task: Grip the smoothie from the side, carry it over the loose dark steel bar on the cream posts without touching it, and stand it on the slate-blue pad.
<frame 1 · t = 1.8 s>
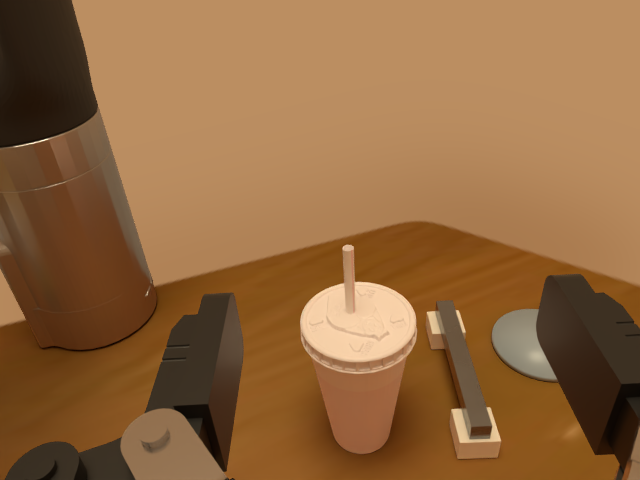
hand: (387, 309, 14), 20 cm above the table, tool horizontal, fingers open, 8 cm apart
steel bar: (459, 367, 36), point 2 cm above the table, touching hurdle stand
hurdle stand: (457, 383, 37), on the table
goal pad: (540, 344, 39), on the table
smoothie: (361, 430, 34), on the table
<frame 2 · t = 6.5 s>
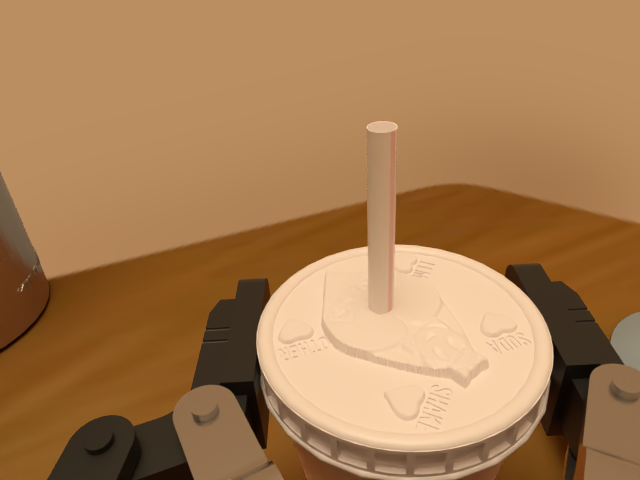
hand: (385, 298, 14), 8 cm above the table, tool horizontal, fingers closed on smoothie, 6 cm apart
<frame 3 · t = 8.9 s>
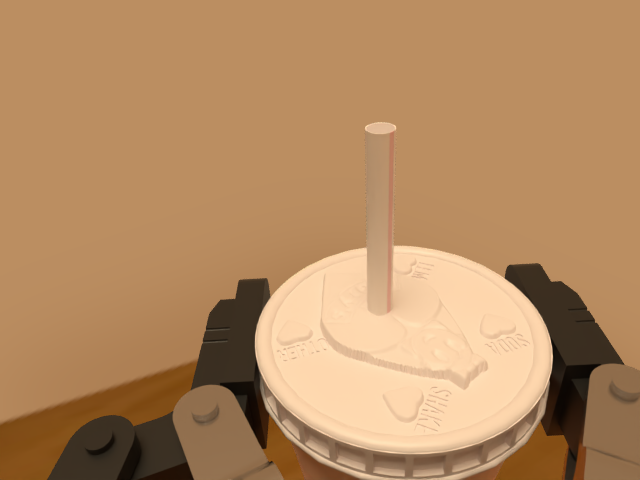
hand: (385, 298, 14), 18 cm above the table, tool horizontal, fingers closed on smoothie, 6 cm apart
when the fingers open (10 cm above the table, at t = 11.7 s): smoothie drops 1 cm, resting on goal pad.
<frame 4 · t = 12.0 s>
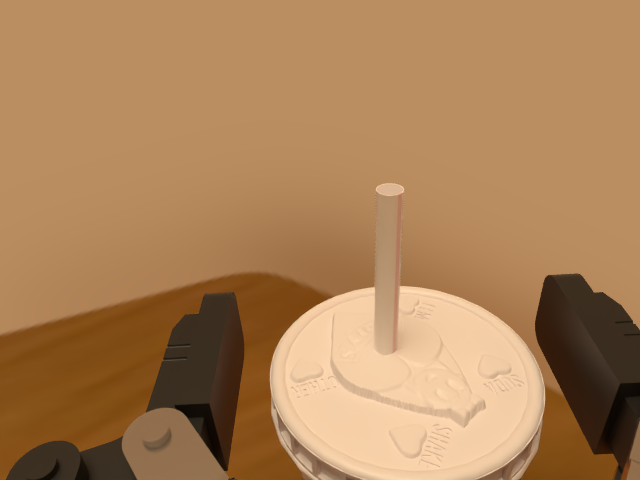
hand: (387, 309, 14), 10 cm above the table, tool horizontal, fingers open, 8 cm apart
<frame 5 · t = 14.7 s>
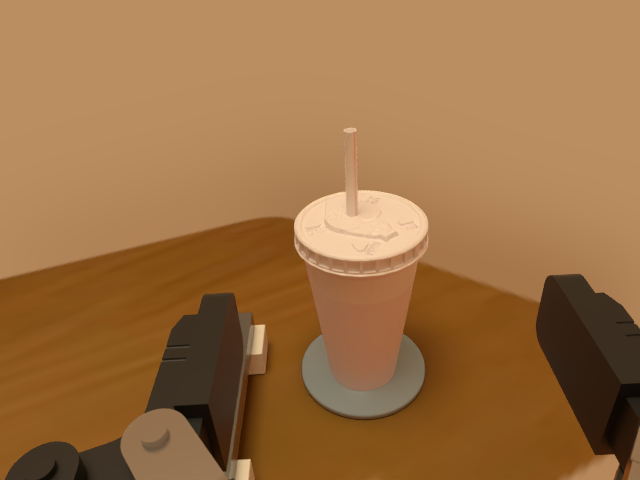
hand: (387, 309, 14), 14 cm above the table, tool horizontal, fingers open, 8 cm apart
steel bar: (233, 402, 27), point 2 cm above the table, touching hurdle stand
hurdle stand: (238, 422, 28), on the table
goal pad: (362, 368, 30), on the table
smoothie: (362, 368, 30), resting on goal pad
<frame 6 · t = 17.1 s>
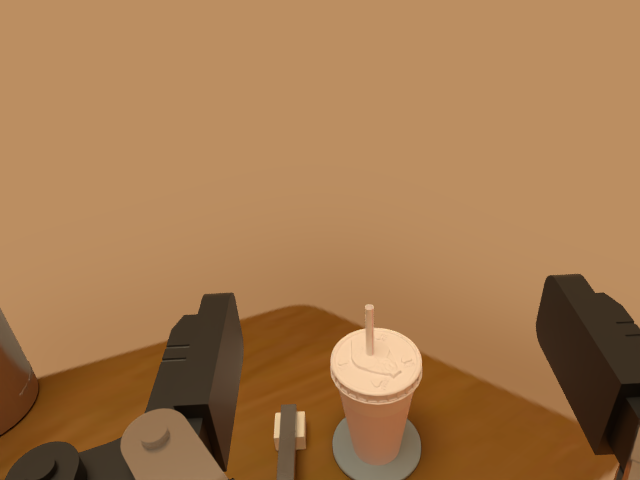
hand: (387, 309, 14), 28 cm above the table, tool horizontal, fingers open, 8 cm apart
steel bar: (287, 476, 39), point 2 cm above the table, touching hurdle stand
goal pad: (376, 445, 42), on the table
smoothie: (376, 445, 42), resting on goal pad
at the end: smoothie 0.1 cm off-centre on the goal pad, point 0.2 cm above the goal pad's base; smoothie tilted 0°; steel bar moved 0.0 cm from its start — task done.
